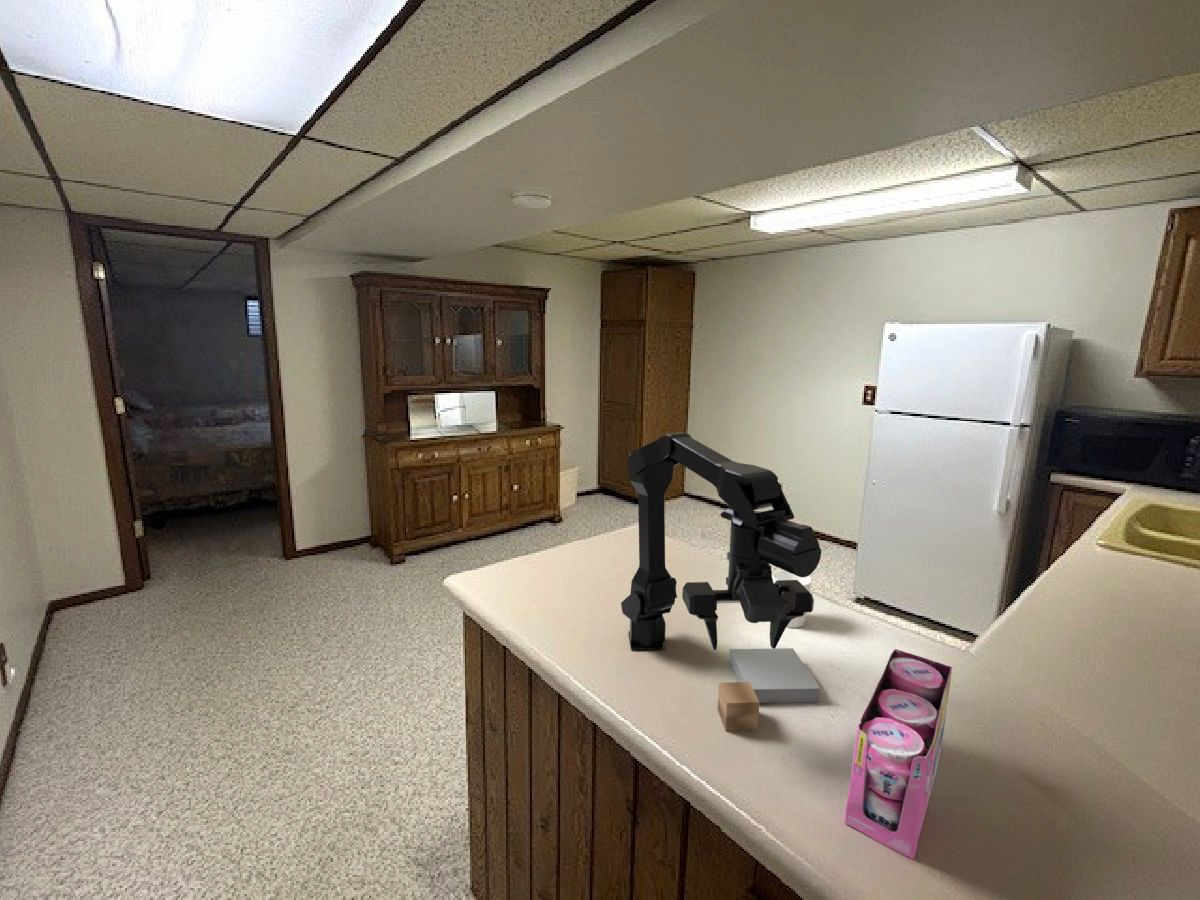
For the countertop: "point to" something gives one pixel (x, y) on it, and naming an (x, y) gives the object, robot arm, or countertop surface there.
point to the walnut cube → (738, 706)
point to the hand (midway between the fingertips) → (743, 647)
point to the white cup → (804, 581)
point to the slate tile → (775, 675)
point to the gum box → (899, 751)
